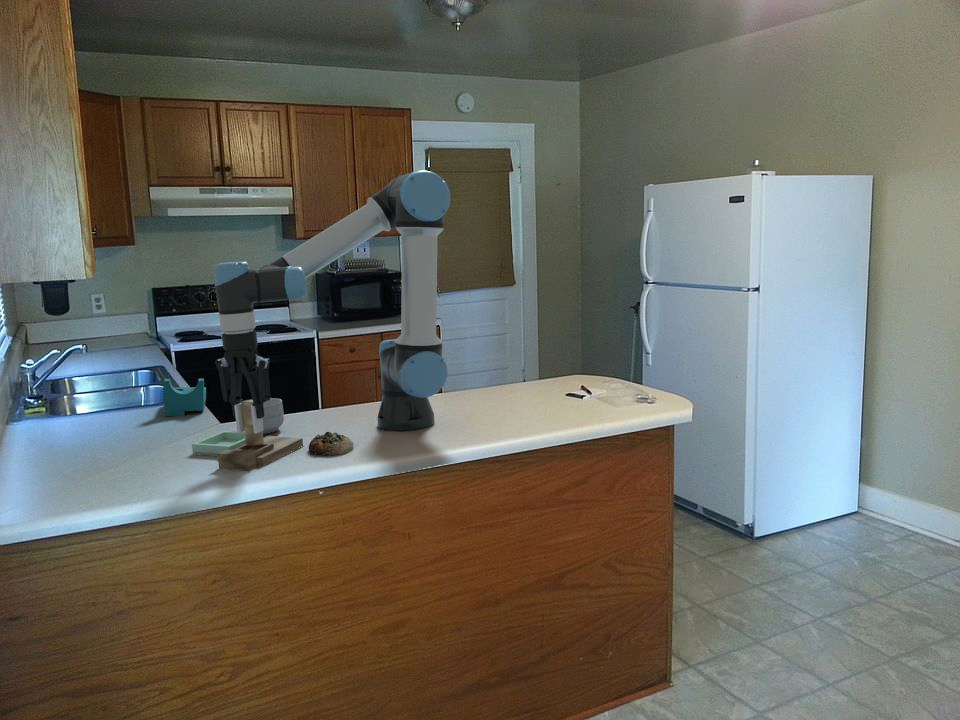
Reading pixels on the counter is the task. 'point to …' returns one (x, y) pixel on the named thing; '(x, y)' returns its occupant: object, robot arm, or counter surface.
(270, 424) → the teacup
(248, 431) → the dowel
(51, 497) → the counter surface
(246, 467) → the block
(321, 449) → the bread roll
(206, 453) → the tray
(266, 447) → the brown slotted slab
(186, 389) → the teal notched cradle
